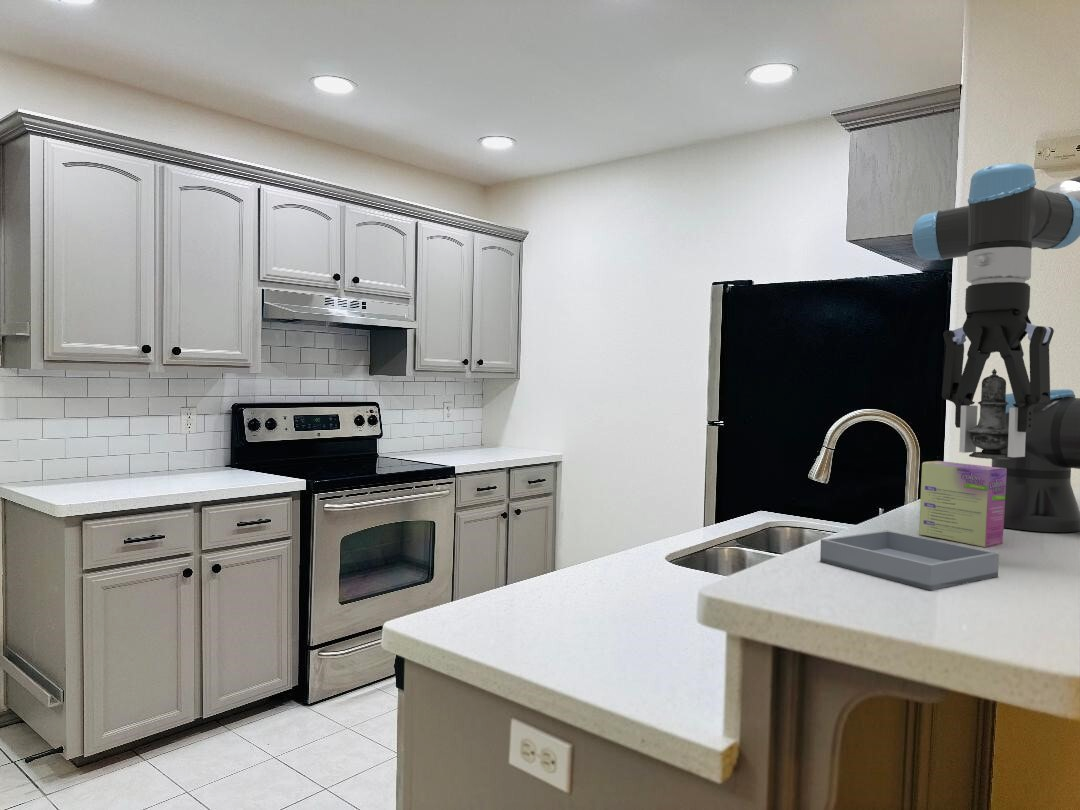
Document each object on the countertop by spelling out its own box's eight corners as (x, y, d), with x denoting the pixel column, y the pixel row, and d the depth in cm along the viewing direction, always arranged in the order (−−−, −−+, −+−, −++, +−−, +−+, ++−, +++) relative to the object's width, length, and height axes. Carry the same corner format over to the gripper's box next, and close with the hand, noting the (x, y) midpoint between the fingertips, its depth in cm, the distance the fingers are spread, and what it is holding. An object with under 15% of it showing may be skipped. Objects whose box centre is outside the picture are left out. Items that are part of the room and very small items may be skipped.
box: (1004, 543, 119) (1007, 467, 118) (985, 548, 115) (988, 469, 115) (937, 531, 127) (940, 460, 127) (918, 535, 124) (920, 462, 123)
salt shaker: (1023, 460, 102) (1027, 368, 101) (975, 458, 103) (978, 368, 103) (1006, 455, 108) (1009, 369, 107) (960, 454, 109) (963, 368, 108)
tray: (886, 550, 112) (887, 530, 112) (998, 576, 98) (998, 553, 98) (820, 561, 105) (820, 539, 105) (930, 590, 91) (931, 565, 91)
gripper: (916, 287, 111) (910, 449, 112) (1058, 273, 94) (1050, 462, 95) (947, 291, 115) (942, 447, 115) (1089, 278, 98) (1082, 460, 99)
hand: (991, 454), depth 105 cm, fingers closed on salt shaker, 6 cm apart
